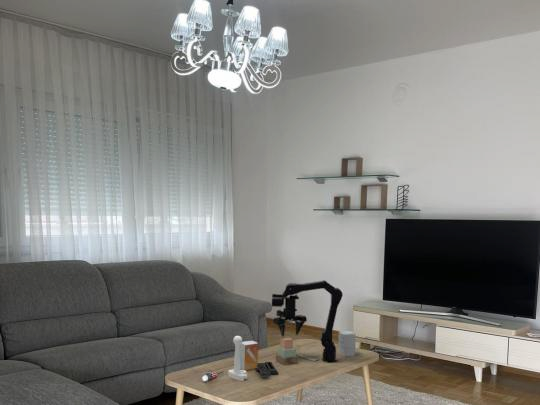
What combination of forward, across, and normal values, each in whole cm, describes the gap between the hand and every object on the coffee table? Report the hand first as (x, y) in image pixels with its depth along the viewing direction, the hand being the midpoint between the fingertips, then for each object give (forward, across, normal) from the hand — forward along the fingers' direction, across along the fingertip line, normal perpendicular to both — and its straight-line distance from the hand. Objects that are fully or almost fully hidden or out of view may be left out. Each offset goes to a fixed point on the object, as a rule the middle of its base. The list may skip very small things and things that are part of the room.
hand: (289, 335), depth 271 cm
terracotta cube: (+5, +5, +4) cm, 8 cm away
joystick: (+13, +38, +13) cm, 42 cm away
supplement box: (+13, -34, +8) cm, 37 cm away
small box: (+13, +28, +3) cm, 31 cm away
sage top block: (+9, +4, +4) cm, 11 cm away
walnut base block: (+13, +5, +4) cm, 15 cm away
